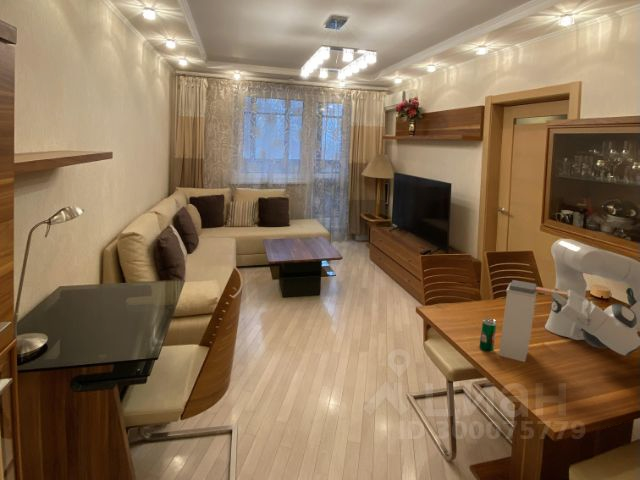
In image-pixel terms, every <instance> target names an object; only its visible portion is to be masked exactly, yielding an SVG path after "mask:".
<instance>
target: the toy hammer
mask: <svg viewBox="0 0 640 480" xmlns="http://www.w3.org/2000/svg"><path fill="white" fill-rule="evenodd" d="M510 283H511V284H510ZM510 283H509V284H510V287H509V290H515V291H520V292H526V293H531V294H534V292H537V294H539V293H540V294H544V295H548V296H552V293H553V292H554V291H556V292H557V293H559V295H560V296H562V297H565V298H567V292H564V291H558V290H553V289H552V288H546V287H540V286H537V283H533V282H529V281H528V282H527V281H521V280H515V279H512V281H511V282H510Z"/></svg>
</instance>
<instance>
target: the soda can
mask: <svg viewBox="0 0 640 480" xmlns="http://www.w3.org/2000/svg"><path fill="white" fill-rule="evenodd" d="M481 323H482V324H481V332H480V338H479V346H478V347H479V349H480V351H482V352H484V353H485V352H486V353H491V352H493V350H494V348H495V347H494V346H495V340H496V332H497V322H496V319H493V318H491V317H490V318H489V317H488V318H487V317H486V318H484V319H483V321H482V322H481Z"/></svg>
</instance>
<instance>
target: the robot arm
mask: <svg viewBox="0 0 640 480" xmlns="http://www.w3.org/2000/svg"><path fill="white" fill-rule="evenodd" d="M550 252H551V255H552V257H553V261H554V267H555V276H556V277H555V278H556V279H555V287H554V288H553V289H552V290H558V291H564V292H567V298H565V297H562V296H560V295H559V293H557V292H556V291H554V292H553V293H552V295H551V297H552V299H551V300H552V301H551V305H550V306H551V309H550V312H549V313H550V314H549V316H548V319H547V321H546V323H545V324H544V327H545V329H546V330H547V331H548V332H550V333H553V334H555V335H557V336H562V337H567V338H569V339H571V340H576V341H583V340H585V341H586V343H588V345H591V346H592V347H595V348H598V349H607V348H609V349H610V350H612V351H614V352H615V353H617V354H619V355H621V356H624V357H625V356H629V355H631V354H633V353H634V352H635V351H637V350H639V348H640V336H639V335H638V332H640V262H639V261H637V260H636V259H634V258H631V257H628V256H625V255H622V254H619V253H615V252H613V251H608V250H605V249H601V248H597V247H595V246H591V245H588V244H586V243H583V242H580V241H578V240H574V239H573V238H559V239H557V240H556V241H554V242H553V243H552V245H551V248H550ZM584 274H586V275H591V276H597V277H601V278H604V279H607V280H610V281H614V282H617V283H621V284H624V285H627V286H628V288H627V289H626V291H625V292H626V295H627V296H626V298H627V302H628V304H629V306H630V308H629V307H628V306H626V305H624V304H620V303H612V304H611V305H609V306H608V307H606V308H605V309H604V310H603V309H602V308H601V307H599V306H598V304H597V303H596V302H594V301H593V300H591V301H589V300H588V299H587V298H586V293H587V286H588V285H587V281H586V279H585V277H584Z"/></svg>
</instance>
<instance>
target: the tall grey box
mask: <svg viewBox="0 0 640 480" xmlns="http://www.w3.org/2000/svg"><path fill="white" fill-rule="evenodd" d="M510 284H511V282H510V283H509V284H508V286H507V288H506V290H505V291H506V292H505V293H506V298H505V306H504V312H503V313H504V314H503V321H502V328H501V335H500V337H501V338H500V343H499V350H498V356H501V357H504V358H507V359H511V360H515V361H520V362H523V363H525V362H526V360H527V357H528V353H529V348H530V341H531V335H532V334H531V333H532V326H533V321H534V313H535V308H536V301H537V295H538V293H537V292H534V294H531V293H526V292H520V291H515V290H509V287H510Z"/></svg>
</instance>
